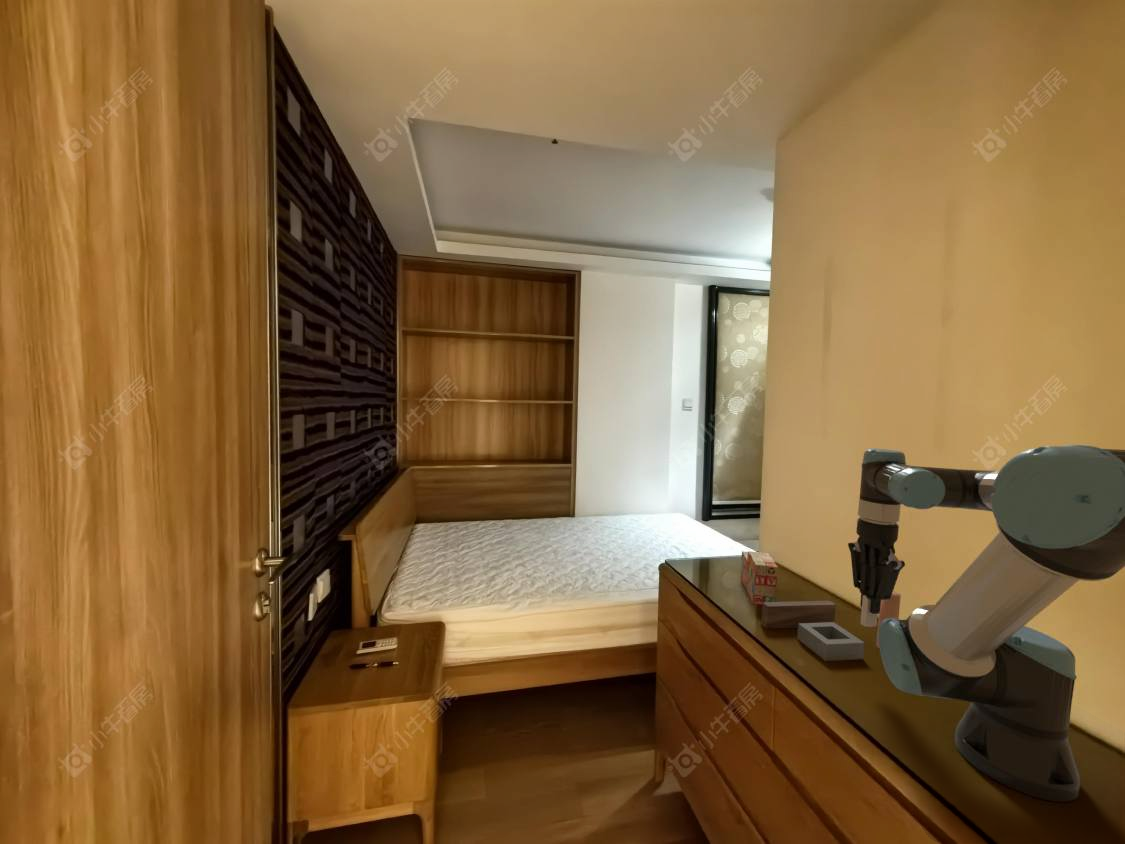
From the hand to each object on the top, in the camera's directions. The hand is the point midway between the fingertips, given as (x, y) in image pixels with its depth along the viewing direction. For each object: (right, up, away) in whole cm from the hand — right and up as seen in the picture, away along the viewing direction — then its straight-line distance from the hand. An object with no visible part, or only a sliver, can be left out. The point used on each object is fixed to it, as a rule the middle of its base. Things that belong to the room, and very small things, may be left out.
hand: (868, 624), depth 104 cm
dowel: (+13, -11, +13) cm, 21 cm away
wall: (-4, -10, +23) cm, 25 cm away
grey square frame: (-2, -11, +11) cm, 16 cm away
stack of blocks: (-6, -9, +45) cm, 46 cm away
